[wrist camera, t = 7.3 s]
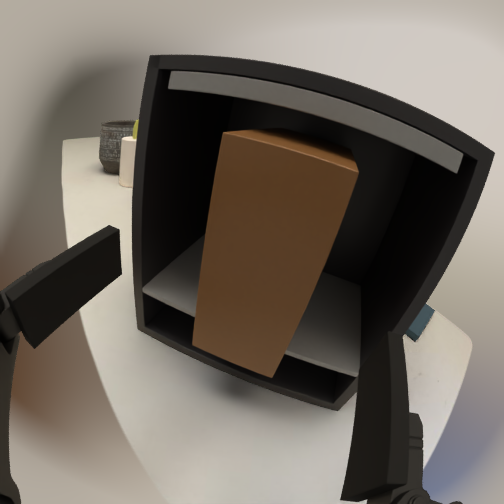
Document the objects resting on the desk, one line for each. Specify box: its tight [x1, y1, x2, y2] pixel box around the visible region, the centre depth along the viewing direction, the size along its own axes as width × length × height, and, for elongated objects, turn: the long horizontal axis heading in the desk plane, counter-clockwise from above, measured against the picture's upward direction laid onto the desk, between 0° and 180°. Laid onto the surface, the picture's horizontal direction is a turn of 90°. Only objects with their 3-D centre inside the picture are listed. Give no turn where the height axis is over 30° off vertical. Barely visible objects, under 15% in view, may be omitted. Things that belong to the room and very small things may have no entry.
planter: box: [99, 120, 136, 174], centre depth 61 cm, size 12×12×13 cm
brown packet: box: [192, 128, 359, 378], centre depth 19 cm, size 6×12×14 cm, turn 161°
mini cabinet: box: [132, 55, 495, 411], centre depth 23 cm, size 21×14×24 cm, turn 71°
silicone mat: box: [405, 303, 435, 341], centre depth 38 cm, size 12×10×1 cm
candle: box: [119, 120, 139, 187], centre depth 54 cm, size 6×6×15 cm
